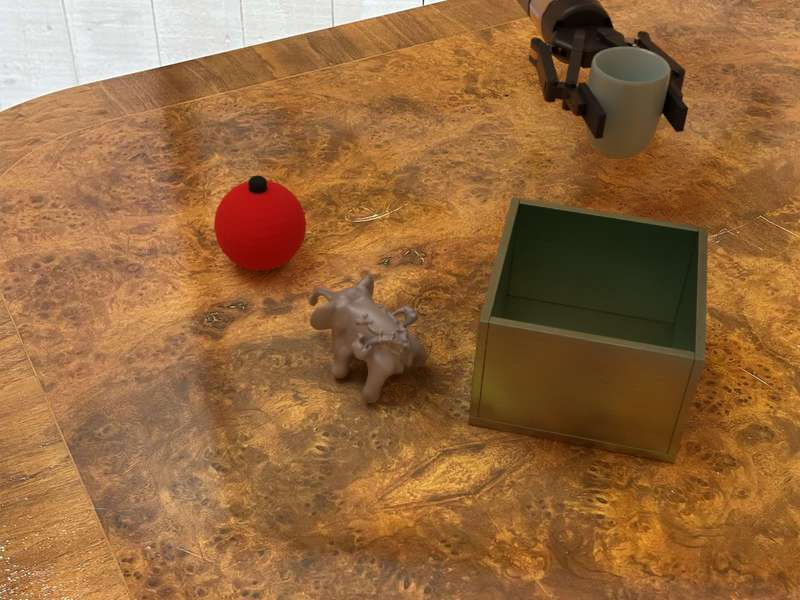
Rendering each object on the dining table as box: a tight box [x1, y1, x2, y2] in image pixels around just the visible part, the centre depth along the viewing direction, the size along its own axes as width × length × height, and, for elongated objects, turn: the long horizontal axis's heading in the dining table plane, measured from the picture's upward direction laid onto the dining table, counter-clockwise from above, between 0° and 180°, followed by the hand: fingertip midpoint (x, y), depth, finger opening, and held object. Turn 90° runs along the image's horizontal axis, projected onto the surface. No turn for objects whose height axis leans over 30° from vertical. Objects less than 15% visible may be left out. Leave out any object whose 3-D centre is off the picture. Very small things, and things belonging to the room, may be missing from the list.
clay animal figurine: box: [308, 273, 428, 404], centre depth 95 cm, size 9×12×8 cm
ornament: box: [213, 175, 307, 272], centre depth 105 cm, size 9×9×10 cm
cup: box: [583, 47, 671, 160], centre depth 110 cm, size 8×8×10 cm
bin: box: [467, 196, 709, 464], centre depth 93 cm, size 18×18×12 cm
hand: (641, 123), depth 106 cm, fingers closed on cup, 8 cm apart
